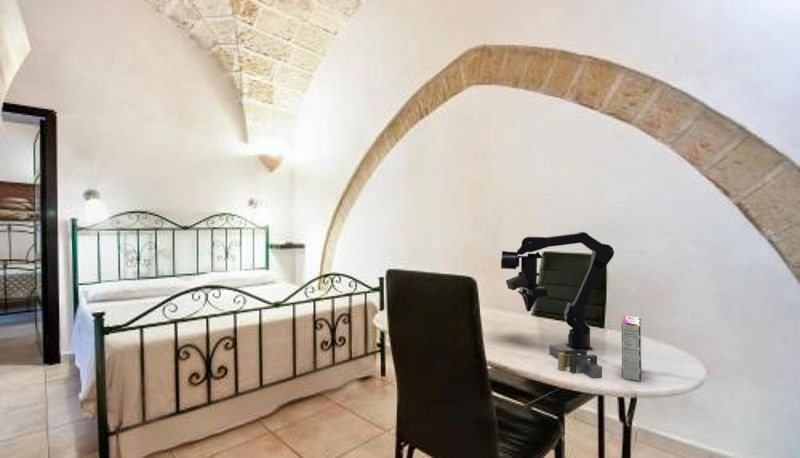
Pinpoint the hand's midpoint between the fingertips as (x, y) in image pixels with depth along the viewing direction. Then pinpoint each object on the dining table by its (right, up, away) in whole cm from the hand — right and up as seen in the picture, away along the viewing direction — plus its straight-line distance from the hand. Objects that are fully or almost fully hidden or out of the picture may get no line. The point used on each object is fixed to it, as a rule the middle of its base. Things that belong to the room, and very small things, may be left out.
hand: (528, 311), depth 148 cm
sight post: (+2, -12, -27) cm, 30 cm away
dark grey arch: (+7, -12, -29) cm, 32 cm away
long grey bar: (+7, -12, -23) cm, 27 cm away
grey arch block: (+7, -12, -24) cm, 28 cm away
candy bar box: (+21, -13, -31) cm, 39 cm away
